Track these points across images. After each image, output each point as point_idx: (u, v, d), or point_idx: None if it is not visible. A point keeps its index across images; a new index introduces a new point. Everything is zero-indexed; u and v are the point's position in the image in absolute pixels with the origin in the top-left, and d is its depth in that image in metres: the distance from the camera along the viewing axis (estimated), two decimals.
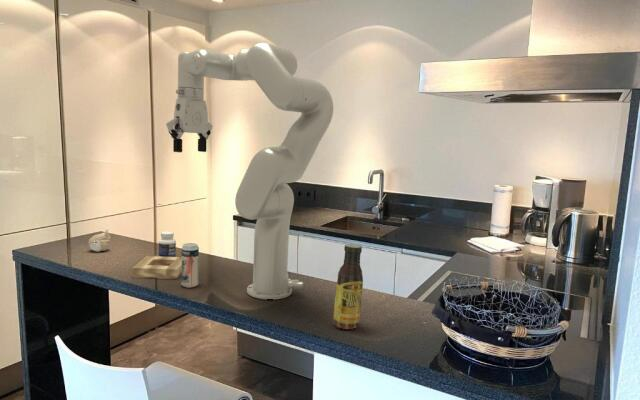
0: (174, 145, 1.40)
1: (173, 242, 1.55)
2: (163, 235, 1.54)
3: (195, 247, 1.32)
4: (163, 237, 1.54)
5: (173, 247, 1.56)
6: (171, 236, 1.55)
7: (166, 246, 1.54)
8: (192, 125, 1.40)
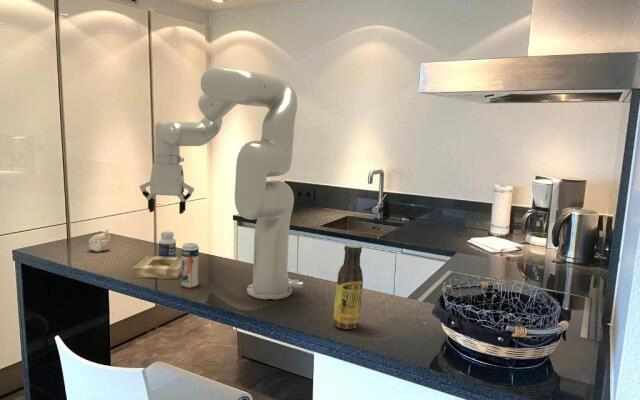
0: (184, 207, 1.54)
1: (173, 242, 1.55)
2: (163, 235, 1.54)
3: (195, 247, 1.32)
4: (163, 237, 1.54)
5: (173, 247, 1.56)
6: (171, 236, 1.55)
7: (166, 246, 1.54)
8: None
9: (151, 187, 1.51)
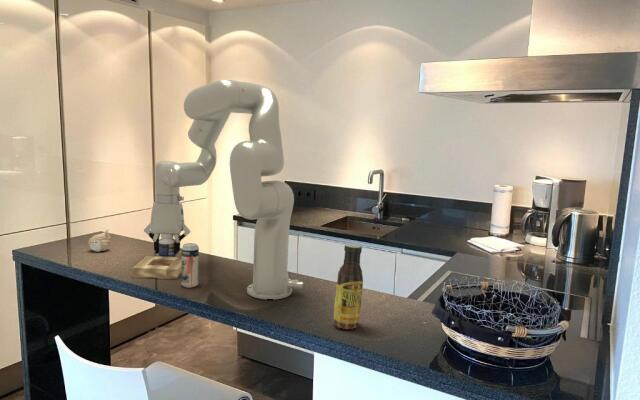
0: (179, 248, 1.56)
1: (173, 242, 1.55)
2: (163, 235, 1.54)
3: (195, 247, 1.32)
4: (163, 237, 1.54)
5: (173, 247, 1.56)
6: (171, 236, 1.55)
7: (166, 246, 1.54)
8: None
9: (151, 226, 1.53)
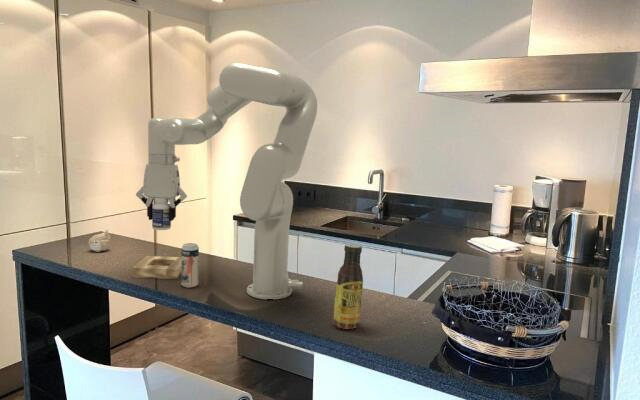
0: (174, 214, 1.43)
1: (168, 207, 1.42)
2: (157, 199, 1.41)
3: (195, 247, 1.32)
4: (157, 201, 1.41)
5: (168, 213, 1.42)
6: (166, 201, 1.42)
7: (160, 212, 1.41)
8: None
9: (144, 189, 1.40)
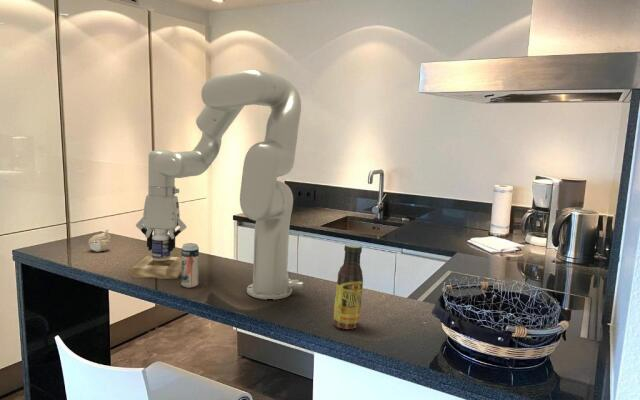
0: (174, 244, 1.45)
1: (167, 238, 1.43)
2: (157, 230, 1.42)
3: (195, 247, 1.32)
4: (157, 232, 1.43)
5: (167, 243, 1.44)
6: (165, 231, 1.43)
7: (160, 243, 1.42)
8: None
9: (144, 221, 1.41)
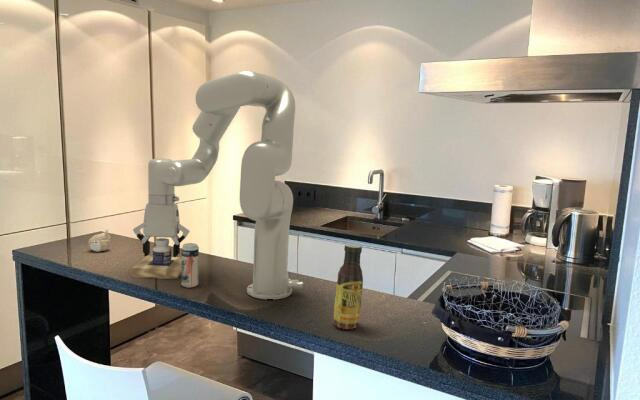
0: (178, 250, 1.45)
1: (168, 250, 1.44)
2: (158, 242, 1.43)
3: (195, 247, 1.32)
4: (158, 244, 1.43)
5: (168, 255, 1.44)
6: (166, 243, 1.44)
7: (161, 255, 1.42)
8: None
9: (144, 229, 1.42)
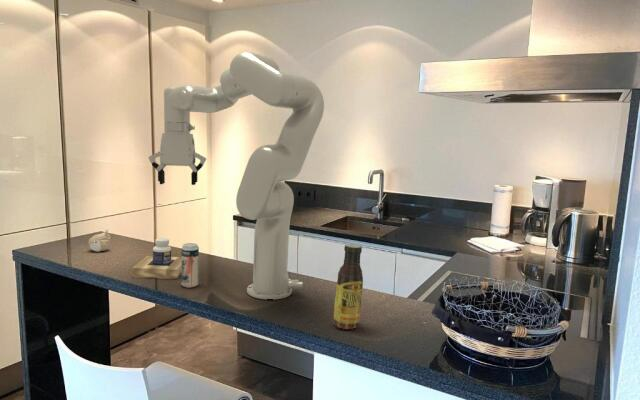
0: (196, 178, 1.47)
1: (168, 250, 1.44)
2: (158, 242, 1.43)
3: (195, 247, 1.32)
4: (158, 244, 1.43)
5: (168, 255, 1.44)
6: (166, 243, 1.44)
7: (161, 254, 1.43)
8: None
9: (161, 157, 1.43)
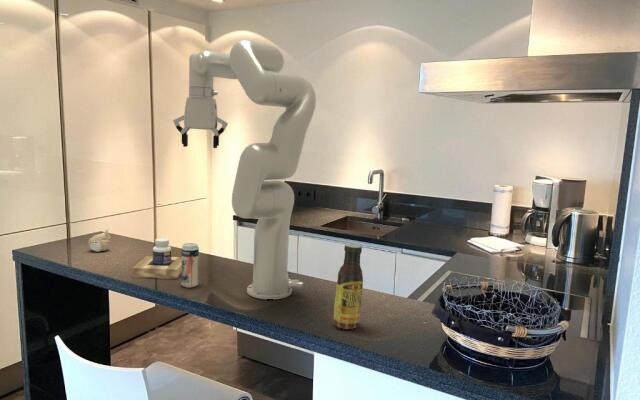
0: (218, 142, 1.54)
1: (168, 250, 1.44)
2: (157, 242, 1.43)
3: (195, 247, 1.32)
4: (157, 244, 1.43)
5: (168, 255, 1.44)
6: (166, 243, 1.44)
7: (161, 255, 1.43)
8: None
9: (185, 120, 1.51)
